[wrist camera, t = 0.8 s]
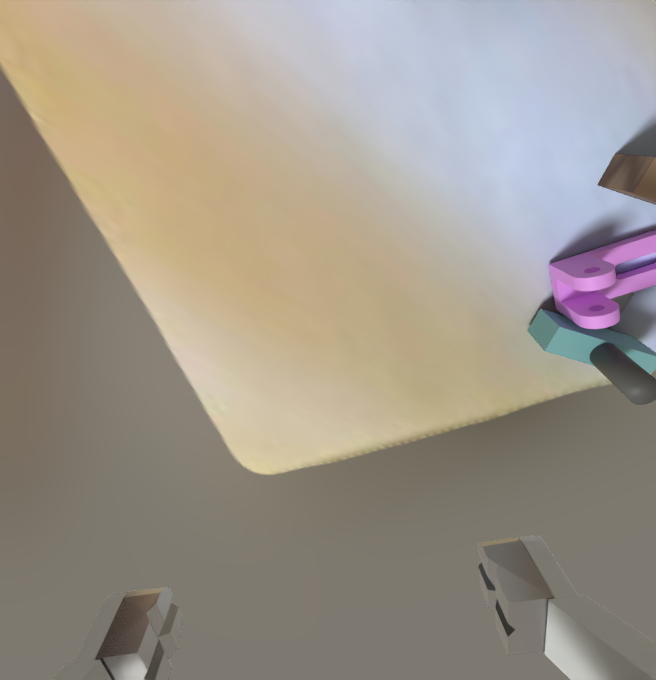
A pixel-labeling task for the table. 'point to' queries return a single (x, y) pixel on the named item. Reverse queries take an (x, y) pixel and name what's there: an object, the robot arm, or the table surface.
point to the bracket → (601, 281)
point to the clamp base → (631, 187)
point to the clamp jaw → (600, 353)
